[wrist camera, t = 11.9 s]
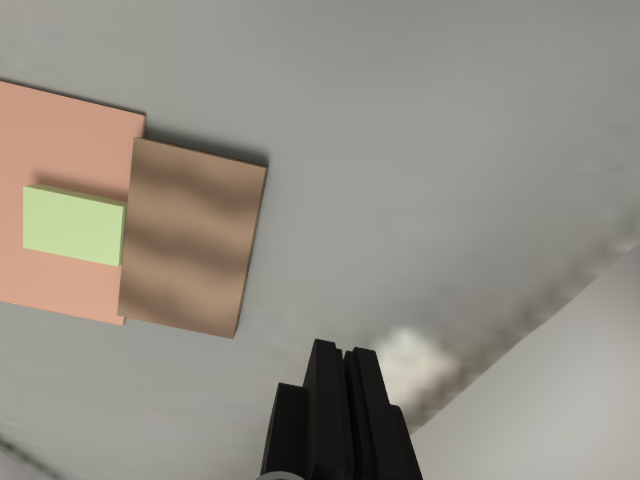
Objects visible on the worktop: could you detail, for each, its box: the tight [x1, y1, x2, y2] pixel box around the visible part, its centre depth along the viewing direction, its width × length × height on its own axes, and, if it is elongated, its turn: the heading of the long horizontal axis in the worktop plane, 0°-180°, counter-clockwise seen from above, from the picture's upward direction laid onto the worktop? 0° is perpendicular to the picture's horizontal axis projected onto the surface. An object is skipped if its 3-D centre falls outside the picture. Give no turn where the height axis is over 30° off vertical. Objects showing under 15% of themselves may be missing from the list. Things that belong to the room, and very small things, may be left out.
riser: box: [117, 137, 268, 339], centre depth 36 cm, size 18×12×2 cm, turn 167°
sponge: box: [23, 184, 128, 267], centre depth 35 cm, size 6×9×2 cm, turn 77°
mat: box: [0, 81, 146, 325], centre depth 36 cm, size 22×16×1 cm
